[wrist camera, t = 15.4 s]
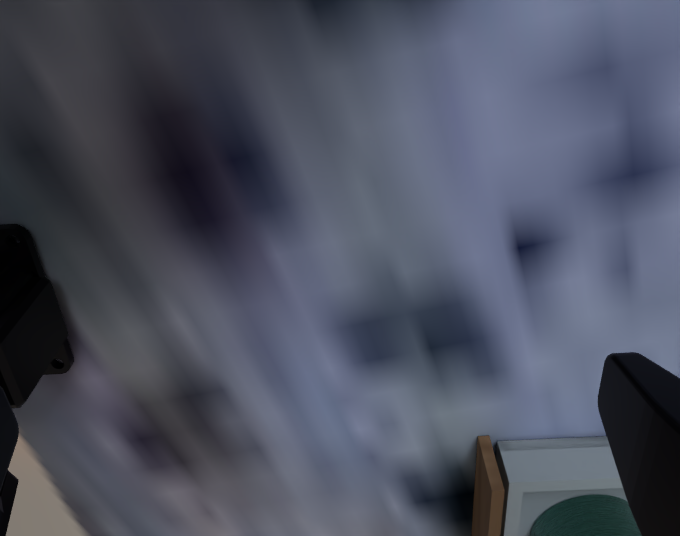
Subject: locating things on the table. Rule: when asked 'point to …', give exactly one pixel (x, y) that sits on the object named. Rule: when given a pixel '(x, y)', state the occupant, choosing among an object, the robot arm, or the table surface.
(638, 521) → the robot arm
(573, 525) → the tea tin
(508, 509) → the tray
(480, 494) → the walnut stand
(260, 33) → the table surface
